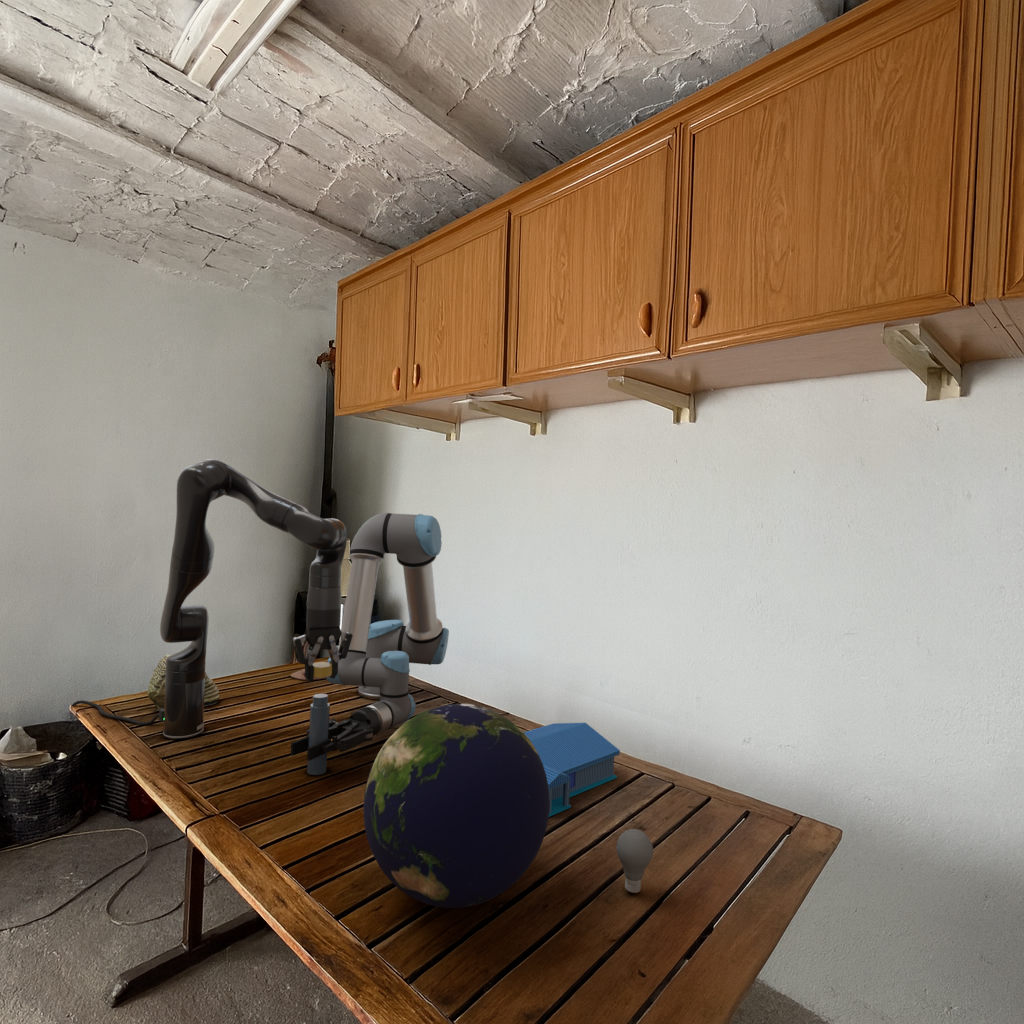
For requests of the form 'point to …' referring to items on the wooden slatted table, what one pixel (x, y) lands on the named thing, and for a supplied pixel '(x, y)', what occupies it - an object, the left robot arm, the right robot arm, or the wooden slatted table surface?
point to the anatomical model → (302, 675)
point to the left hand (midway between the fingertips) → (321, 678)
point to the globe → (456, 806)
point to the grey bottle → (318, 732)
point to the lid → (322, 669)
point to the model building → (572, 760)
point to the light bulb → (634, 857)
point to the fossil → (158, 687)
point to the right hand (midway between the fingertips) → (300, 751)
